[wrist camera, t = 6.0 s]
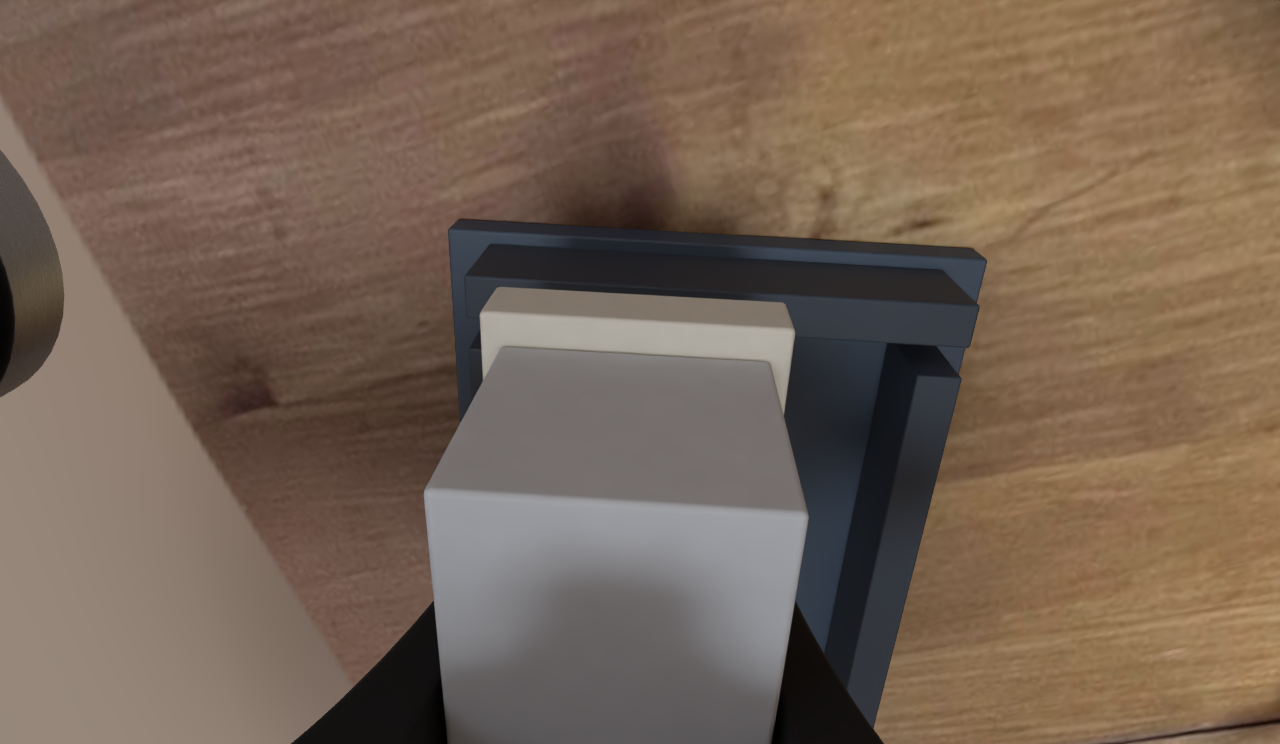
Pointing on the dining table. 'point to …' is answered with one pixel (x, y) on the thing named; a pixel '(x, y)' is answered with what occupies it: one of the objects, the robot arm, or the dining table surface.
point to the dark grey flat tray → (792, 385)
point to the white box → (618, 523)
